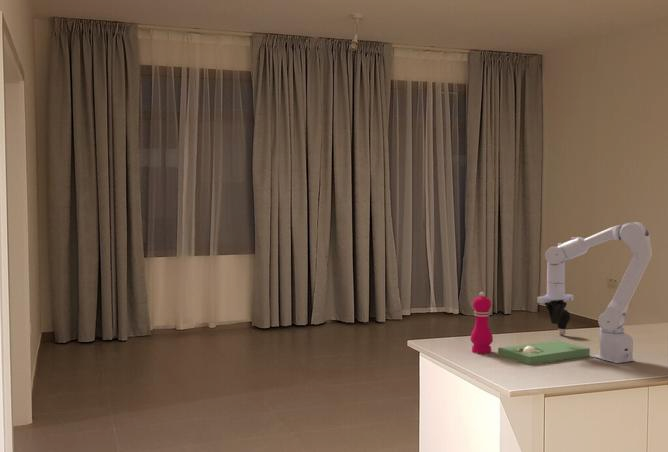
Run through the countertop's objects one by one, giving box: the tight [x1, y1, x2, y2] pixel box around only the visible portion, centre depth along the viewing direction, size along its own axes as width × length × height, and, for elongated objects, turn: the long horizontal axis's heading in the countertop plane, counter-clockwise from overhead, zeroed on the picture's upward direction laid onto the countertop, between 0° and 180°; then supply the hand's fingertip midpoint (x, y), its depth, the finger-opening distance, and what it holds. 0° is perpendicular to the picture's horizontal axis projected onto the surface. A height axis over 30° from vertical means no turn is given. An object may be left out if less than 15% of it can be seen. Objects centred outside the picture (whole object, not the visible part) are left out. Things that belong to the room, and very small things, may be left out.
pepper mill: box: [470, 291, 494, 355], centre depth 221 cm, size 7×7×20 cm
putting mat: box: [497, 339, 591, 366], centre depth 216 cm, size 14×26×2 cm, turn 117°
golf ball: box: [523, 346, 536, 352], centre depth 212 cm, size 4×4×4 cm
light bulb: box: [556, 308, 571, 337], centre depth 248 cm, size 6×6×10 cm
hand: (555, 323), depth 222 cm, fingers closed
